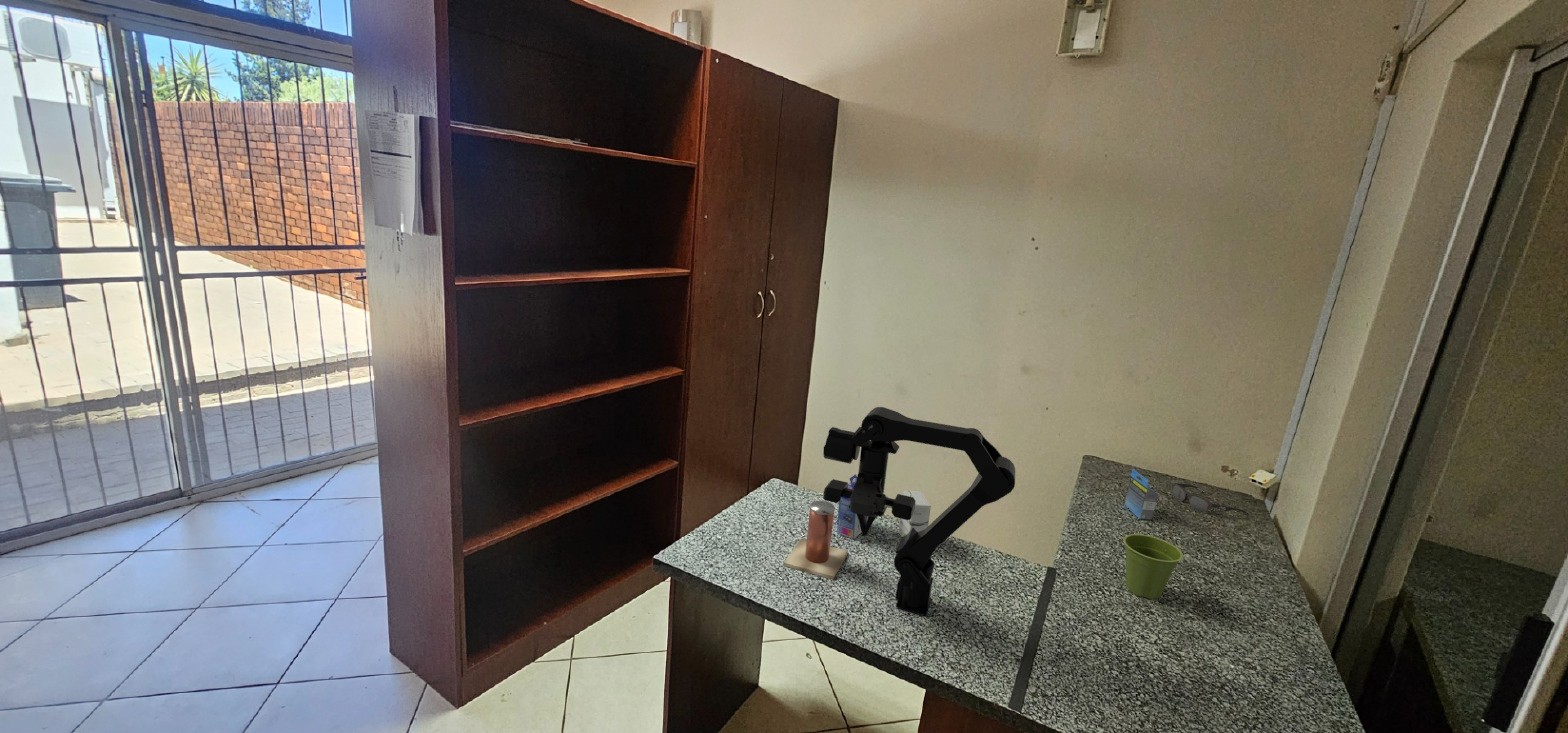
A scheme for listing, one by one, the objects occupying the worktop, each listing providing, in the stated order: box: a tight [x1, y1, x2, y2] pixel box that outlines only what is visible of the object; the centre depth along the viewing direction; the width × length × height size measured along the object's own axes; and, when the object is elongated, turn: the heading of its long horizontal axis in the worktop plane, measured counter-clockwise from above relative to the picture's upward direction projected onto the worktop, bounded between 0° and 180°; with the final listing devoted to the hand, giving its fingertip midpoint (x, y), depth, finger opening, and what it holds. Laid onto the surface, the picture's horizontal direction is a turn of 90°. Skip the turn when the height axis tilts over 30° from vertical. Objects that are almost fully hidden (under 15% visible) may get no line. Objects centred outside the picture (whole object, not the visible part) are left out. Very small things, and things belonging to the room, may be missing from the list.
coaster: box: [783, 538, 849, 580], centre depth 144 cm, size 12×12×1 cm
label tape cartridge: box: [1124, 467, 1159, 521], centre depth 179 cm, size 9×4×12 cm, turn 179°
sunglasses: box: [1171, 482, 1248, 514], centre depth 190 cm, size 16×17×5 cm
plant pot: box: [1122, 533, 1184, 600], centre depth 140 cm, size 12×12×11 cm
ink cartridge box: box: [836, 473, 868, 540], centre depth 157 cm, size 10×6×14 cm, turn 148°
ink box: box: [897, 490, 932, 538], centre depth 155 cm, size 9×5×12 cm, turn 6°
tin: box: [805, 500, 836, 563], centre depth 142 cm, size 6×6×13 cm
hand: (864, 535), depth 131 cm, fingers closed
